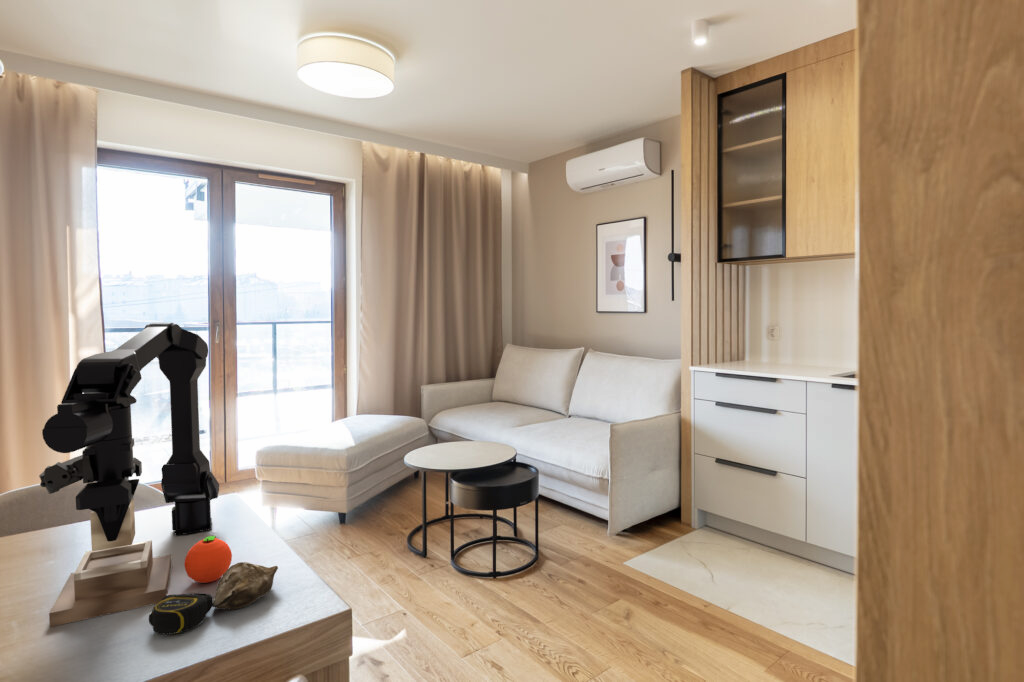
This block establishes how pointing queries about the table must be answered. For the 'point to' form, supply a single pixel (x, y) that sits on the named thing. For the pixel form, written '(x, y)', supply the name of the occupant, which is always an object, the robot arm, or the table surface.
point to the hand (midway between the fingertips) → (114, 534)
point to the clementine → (208, 560)
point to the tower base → (112, 583)
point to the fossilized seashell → (243, 585)
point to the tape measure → (180, 612)
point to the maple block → (123, 537)
